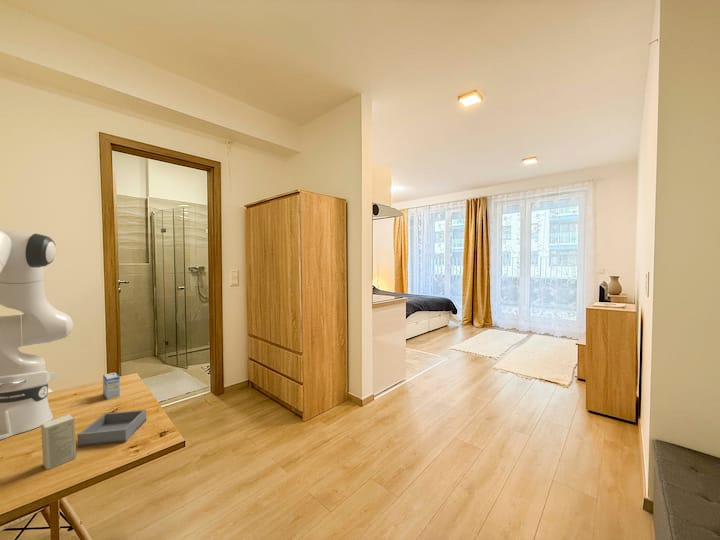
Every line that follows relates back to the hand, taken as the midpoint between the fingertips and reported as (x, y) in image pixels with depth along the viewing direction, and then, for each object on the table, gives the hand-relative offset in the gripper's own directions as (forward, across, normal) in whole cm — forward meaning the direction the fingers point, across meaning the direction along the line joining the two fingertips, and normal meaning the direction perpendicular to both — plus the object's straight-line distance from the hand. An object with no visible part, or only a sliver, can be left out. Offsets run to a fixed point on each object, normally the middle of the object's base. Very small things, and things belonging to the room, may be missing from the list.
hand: (41, 377), depth 80 cm
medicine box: (+44, +30, +14) cm, 55 cm away
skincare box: (+8, +4, +25) cm, 26 cm away
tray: (+22, +2, +22) cm, 32 cm away
